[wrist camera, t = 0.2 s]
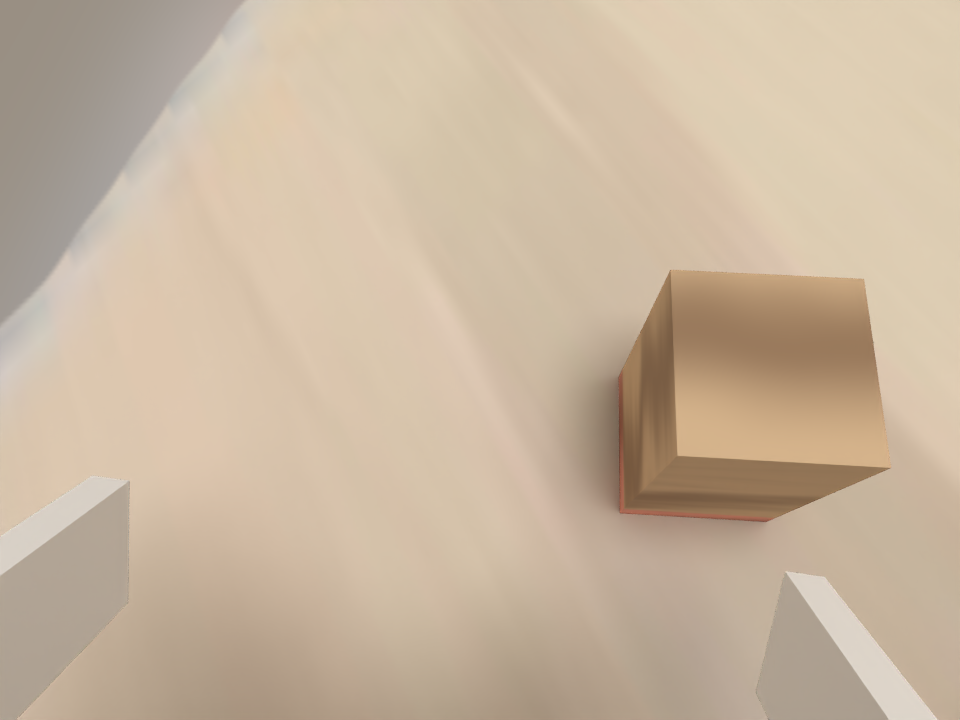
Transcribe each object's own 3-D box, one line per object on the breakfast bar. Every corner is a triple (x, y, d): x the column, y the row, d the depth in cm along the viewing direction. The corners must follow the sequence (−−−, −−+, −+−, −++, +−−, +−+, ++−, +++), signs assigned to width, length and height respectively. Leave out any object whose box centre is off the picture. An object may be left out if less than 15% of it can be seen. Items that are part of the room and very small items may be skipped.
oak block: (766, 521, 30) (891, 468, 21) (619, 513, 30) (677, 455, 21) (755, 384, 32) (863, 279, 23) (618, 377, 32) (670, 269, 23)
